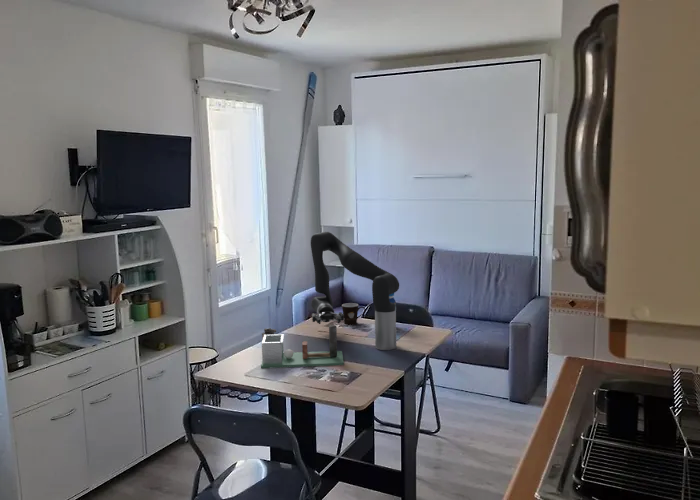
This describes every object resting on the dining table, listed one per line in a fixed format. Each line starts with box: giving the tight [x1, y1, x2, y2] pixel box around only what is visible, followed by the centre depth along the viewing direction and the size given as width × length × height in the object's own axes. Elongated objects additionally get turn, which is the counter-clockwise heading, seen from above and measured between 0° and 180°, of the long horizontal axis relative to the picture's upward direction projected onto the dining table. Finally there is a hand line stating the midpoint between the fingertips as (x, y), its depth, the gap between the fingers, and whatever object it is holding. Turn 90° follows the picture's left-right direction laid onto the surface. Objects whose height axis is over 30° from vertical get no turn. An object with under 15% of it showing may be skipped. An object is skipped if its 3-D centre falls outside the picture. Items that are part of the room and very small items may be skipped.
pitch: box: [260, 350, 345, 369], centre depth 247 cm, size 34×16×1 cm, turn 93°
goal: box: [261, 333, 285, 364], centre depth 245 cm, size 8×12×9 cm
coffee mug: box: [341, 302, 366, 326], centre depth 303 cm, size 12×9×10 cm
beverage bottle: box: [389, 293, 397, 326], centre depth 293 cm, size 8×8×20 cm
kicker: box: [301, 324, 338, 359], centre depth 246 cm, size 15×5×13 cm, turn 93°
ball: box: [284, 348, 294, 359], centre depth 246 cm, size 4×4×4 cm
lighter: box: [261, 327, 277, 338], centre depth 261 cm, size 8×3×10 cm, turn 62°
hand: (329, 321), depth 257 cm, fingers open, 8 cm apart
